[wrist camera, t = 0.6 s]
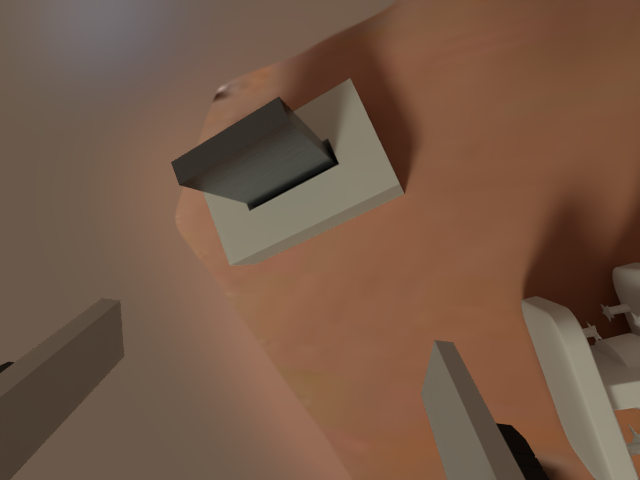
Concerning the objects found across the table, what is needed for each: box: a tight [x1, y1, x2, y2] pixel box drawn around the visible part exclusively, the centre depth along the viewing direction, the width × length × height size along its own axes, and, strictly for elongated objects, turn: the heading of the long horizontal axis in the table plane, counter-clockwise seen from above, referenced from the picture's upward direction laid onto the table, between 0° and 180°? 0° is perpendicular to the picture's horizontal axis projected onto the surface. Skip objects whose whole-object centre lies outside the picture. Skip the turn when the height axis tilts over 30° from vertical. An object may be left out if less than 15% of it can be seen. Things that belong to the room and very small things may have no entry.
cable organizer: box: [521, 262, 640, 480], centre depth 28 cm, size 15×11×12 cm
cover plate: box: [171, 97, 339, 207], centre depth 34 cm, size 10×2×16 cm, turn 114°
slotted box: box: [203, 78, 404, 265], centre depth 40 cm, size 20×12×6 cm, turn 114°
